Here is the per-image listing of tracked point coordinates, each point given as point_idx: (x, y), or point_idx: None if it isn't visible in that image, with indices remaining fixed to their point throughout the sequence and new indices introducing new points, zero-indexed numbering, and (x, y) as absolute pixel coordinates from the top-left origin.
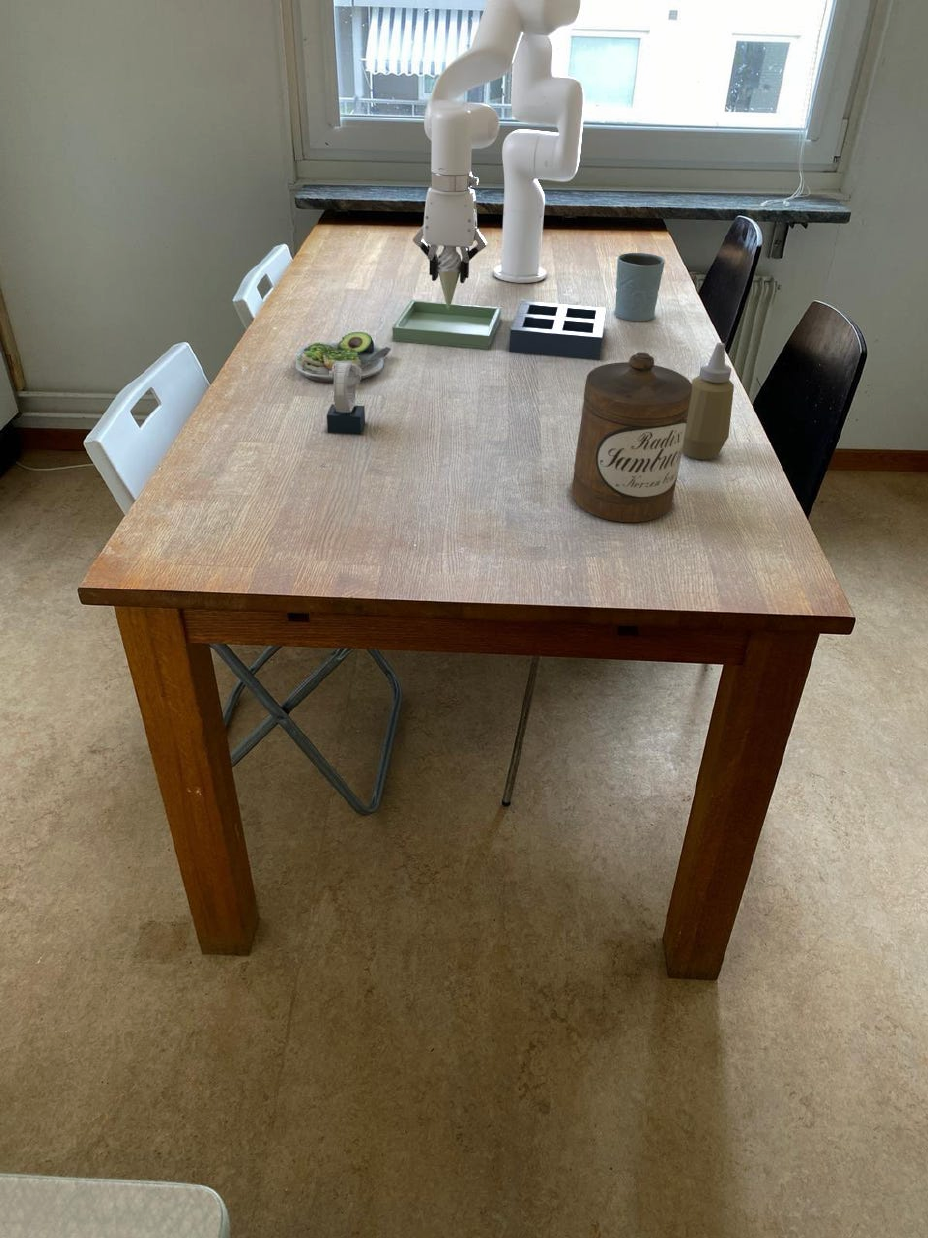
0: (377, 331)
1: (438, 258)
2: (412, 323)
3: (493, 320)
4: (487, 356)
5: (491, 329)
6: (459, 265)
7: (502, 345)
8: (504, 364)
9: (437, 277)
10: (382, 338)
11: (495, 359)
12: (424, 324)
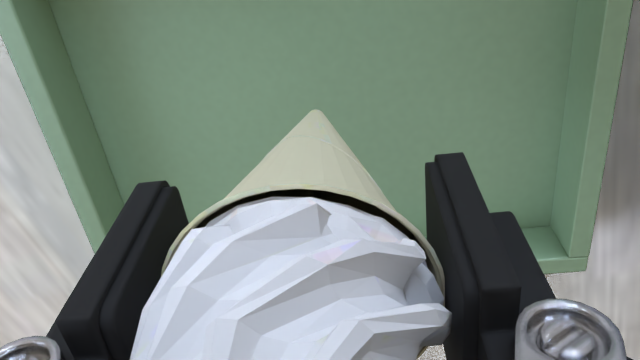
0: (11, 190)
1: (116, 310)
2: (111, 76)
3: (612, 52)
4: (561, 290)
5: (599, 194)
6: (431, 343)
7: (630, 165)
8: (631, 333)
9: (187, 219)
10: (83, 252)
11: (595, 305)
12: (178, 68)
